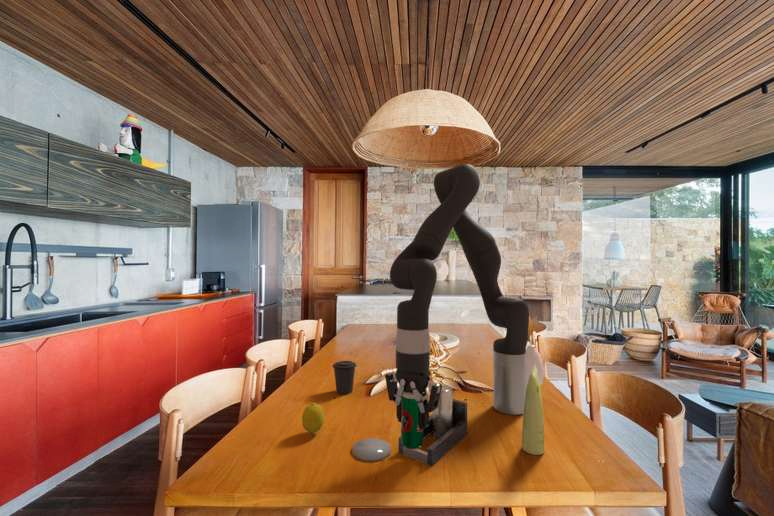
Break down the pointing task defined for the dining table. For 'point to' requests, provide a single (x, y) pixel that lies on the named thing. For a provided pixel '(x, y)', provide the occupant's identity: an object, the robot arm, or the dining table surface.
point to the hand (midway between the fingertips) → (412, 424)
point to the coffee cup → (344, 376)
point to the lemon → (313, 418)
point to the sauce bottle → (533, 363)
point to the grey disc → (371, 449)
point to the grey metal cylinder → (443, 413)
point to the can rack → (445, 441)
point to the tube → (533, 417)
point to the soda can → (410, 421)
